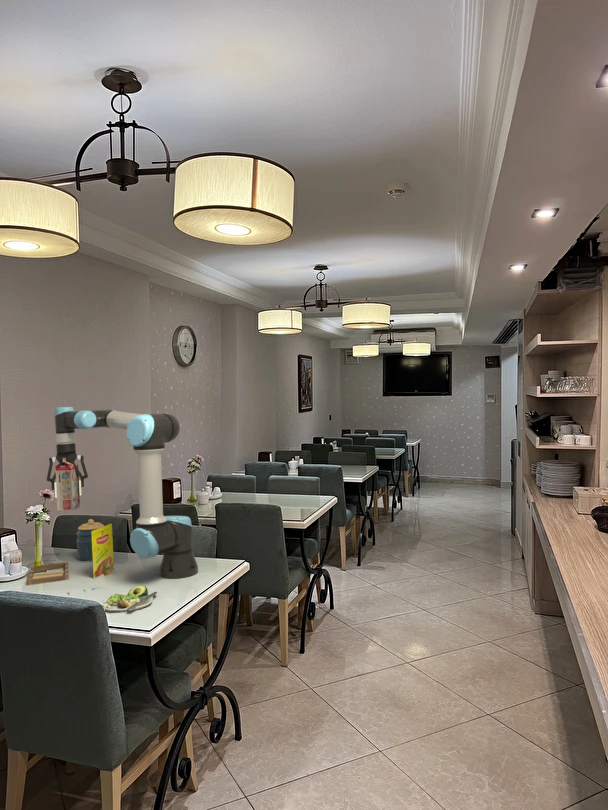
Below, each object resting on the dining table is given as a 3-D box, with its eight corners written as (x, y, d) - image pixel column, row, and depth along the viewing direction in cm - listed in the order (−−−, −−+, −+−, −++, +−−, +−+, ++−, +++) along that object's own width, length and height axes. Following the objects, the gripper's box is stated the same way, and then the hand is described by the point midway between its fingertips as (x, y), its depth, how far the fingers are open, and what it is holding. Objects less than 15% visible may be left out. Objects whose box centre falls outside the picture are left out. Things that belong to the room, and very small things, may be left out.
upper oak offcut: (62, 579, 232) (62, 574, 232) (32, 583, 229) (32, 578, 229) (64, 576, 237) (64, 571, 237) (34, 579, 234) (34, 574, 234)
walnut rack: (68, 583, 231) (68, 574, 231) (28, 588, 226) (28, 579, 226) (68, 570, 251) (68, 561, 251) (31, 575, 245) (30, 566, 245)
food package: (95, 582, 231) (92, 531, 231) (92, 582, 231) (90, 531, 231) (115, 571, 246) (112, 523, 246) (112, 570, 246) (110, 523, 246)
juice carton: (80, 507, 254) (77, 456, 254) (72, 510, 247) (70, 457, 247) (65, 507, 254) (63, 456, 254) (57, 510, 248) (55, 458, 248)
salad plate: (155, 612, 194) (154, 598, 194) (98, 618, 191) (97, 604, 191) (158, 594, 213) (157, 581, 213) (106, 599, 210) (105, 586, 210)
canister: (78, 555, 275) (76, 518, 275) (107, 552, 279) (105, 515, 279) (76, 562, 263) (74, 523, 263) (107, 559, 267) (105, 520, 267)
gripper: (92, 441, 258) (95, 492, 258) (38, 444, 250) (40, 497, 250) (93, 441, 251) (95, 494, 251) (37, 445, 243) (40, 500, 243)
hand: (68, 496), depth 251 cm, fingers closed on juice carton, 9 cm apart
